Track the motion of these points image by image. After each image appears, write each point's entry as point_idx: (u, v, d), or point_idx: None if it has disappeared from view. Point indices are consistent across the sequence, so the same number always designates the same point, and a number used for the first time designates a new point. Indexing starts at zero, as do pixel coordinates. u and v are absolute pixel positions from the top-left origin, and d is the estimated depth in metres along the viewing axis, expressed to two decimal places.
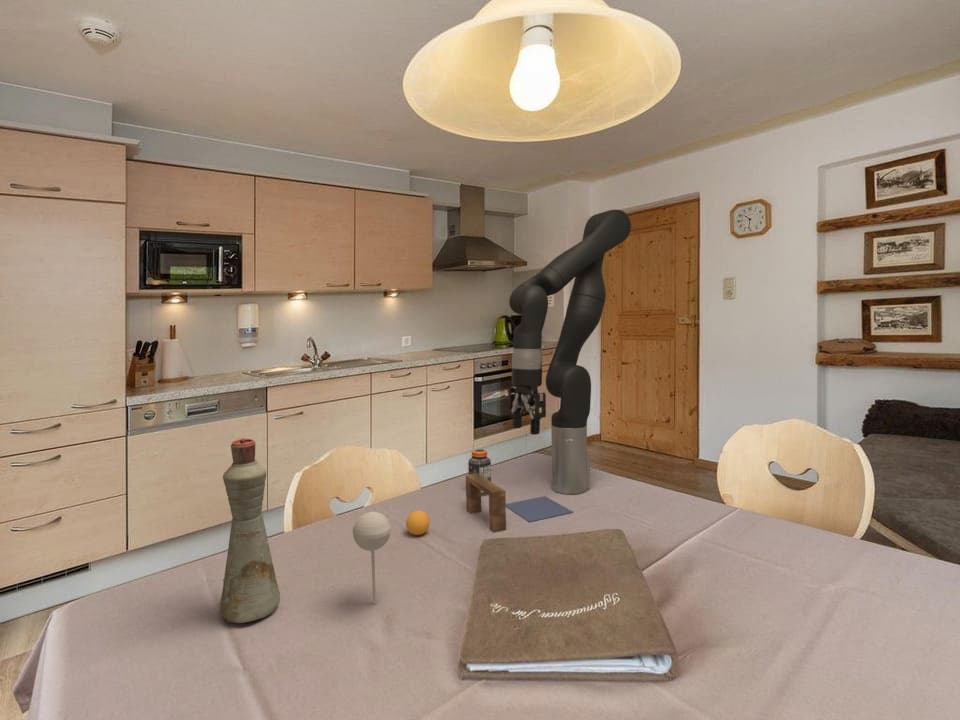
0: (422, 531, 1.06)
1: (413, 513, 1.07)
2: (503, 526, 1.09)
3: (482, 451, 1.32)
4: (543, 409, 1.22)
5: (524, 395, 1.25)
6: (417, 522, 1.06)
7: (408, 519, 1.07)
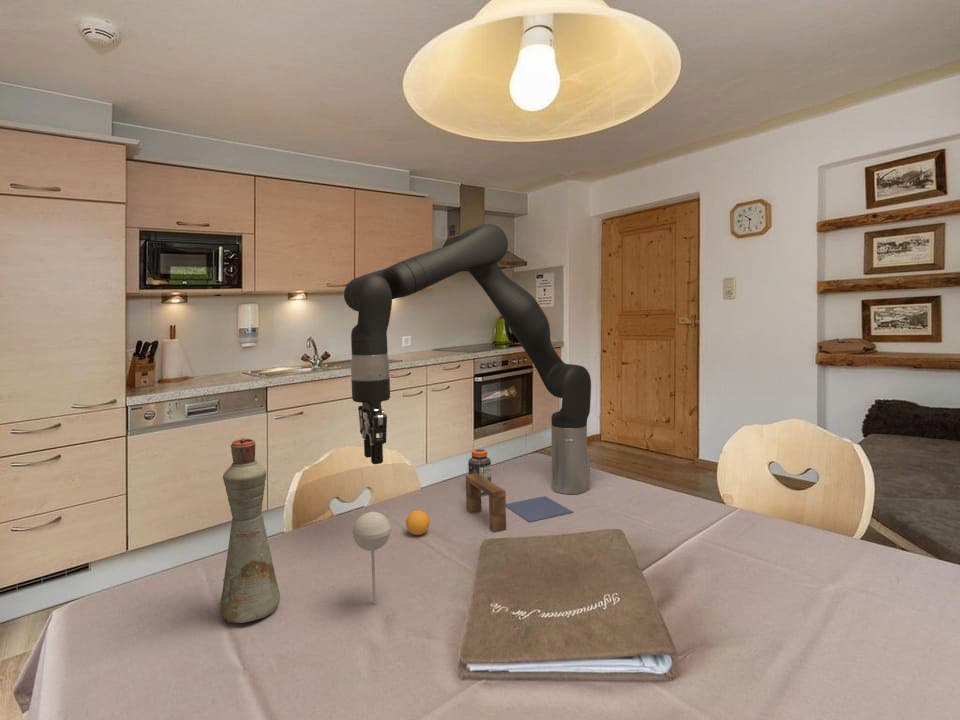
0: (422, 531, 1.06)
1: (413, 513, 1.07)
2: (503, 526, 1.09)
3: (482, 451, 1.32)
4: (383, 434, 0.98)
5: (365, 414, 1.00)
6: (417, 522, 1.06)
7: (408, 519, 1.07)
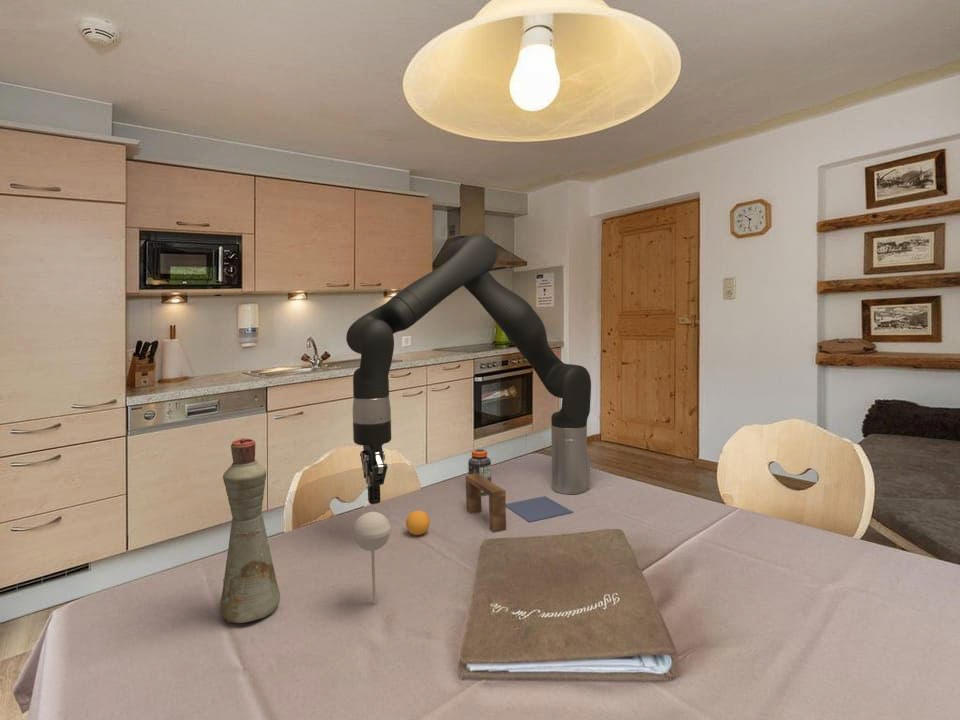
0: (422, 531, 1.06)
1: (413, 513, 1.07)
2: (503, 526, 1.09)
3: (482, 451, 1.32)
4: (381, 478, 1.00)
5: (367, 457, 1.00)
6: (417, 522, 1.06)
7: (408, 519, 1.07)
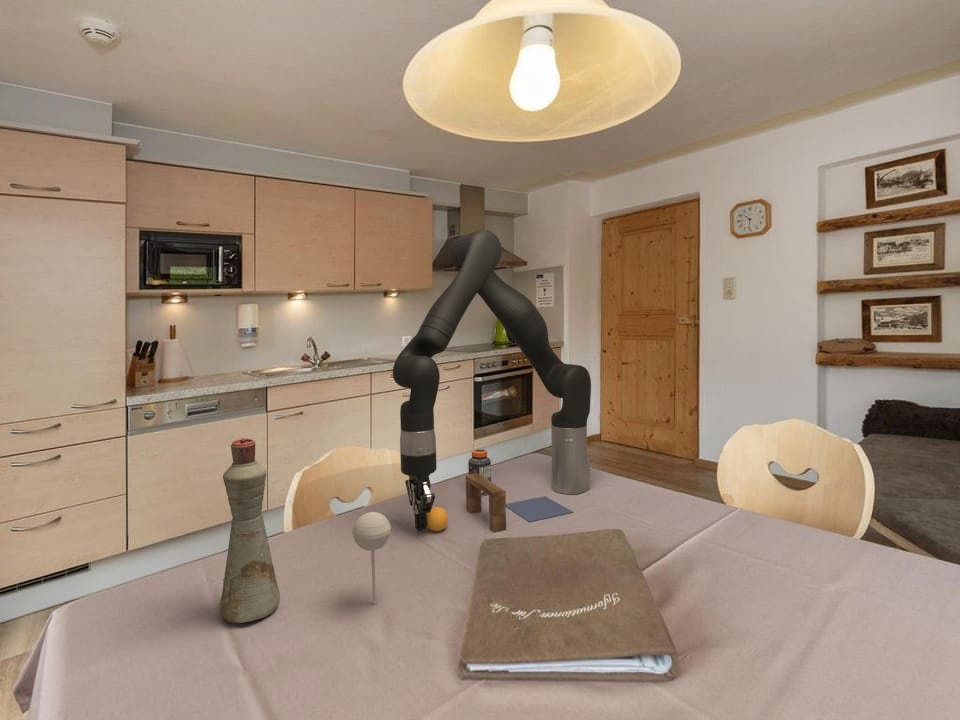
0: (435, 525, 1.07)
1: (445, 511, 1.10)
2: (503, 526, 1.09)
3: (482, 451, 1.32)
4: (429, 507, 1.05)
5: (414, 487, 1.05)
6: (443, 517, 1.08)
7: (440, 508, 1.10)
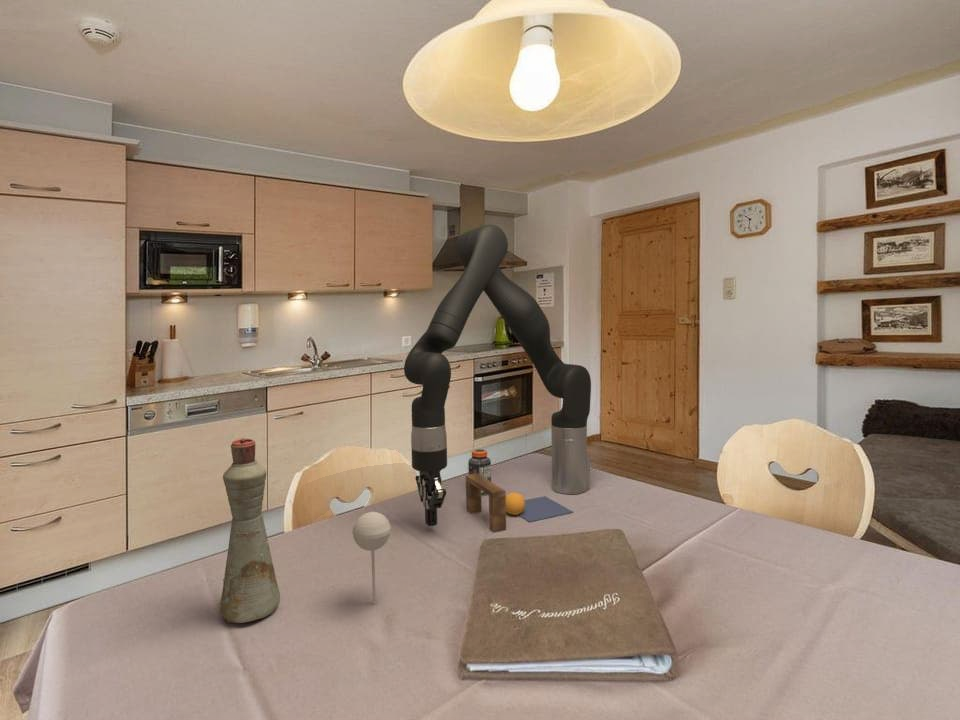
0: (516, 502, 1.16)
1: None
2: (503, 526, 1.09)
3: (482, 451, 1.32)
4: (440, 502, 1.06)
5: (425, 482, 1.06)
6: (523, 508, 1.17)
7: None
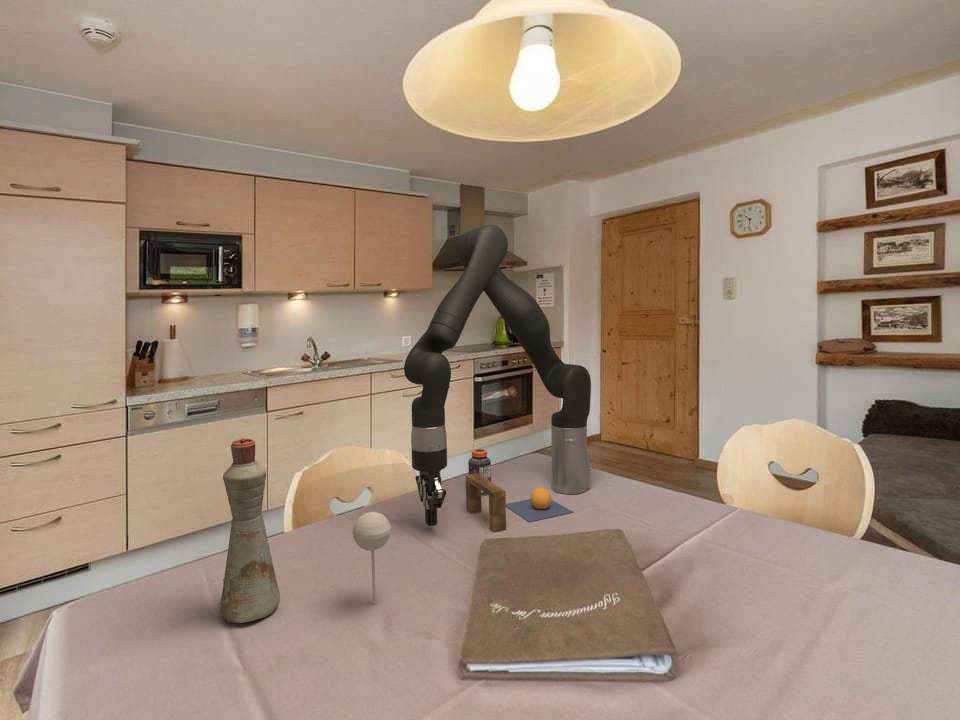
0: (548, 504, 1.20)
1: (533, 494, 1.20)
2: (503, 526, 1.09)
3: (482, 451, 1.32)
4: (440, 502, 1.06)
5: (425, 482, 1.06)
6: (541, 501, 1.19)
7: (532, 501, 1.20)
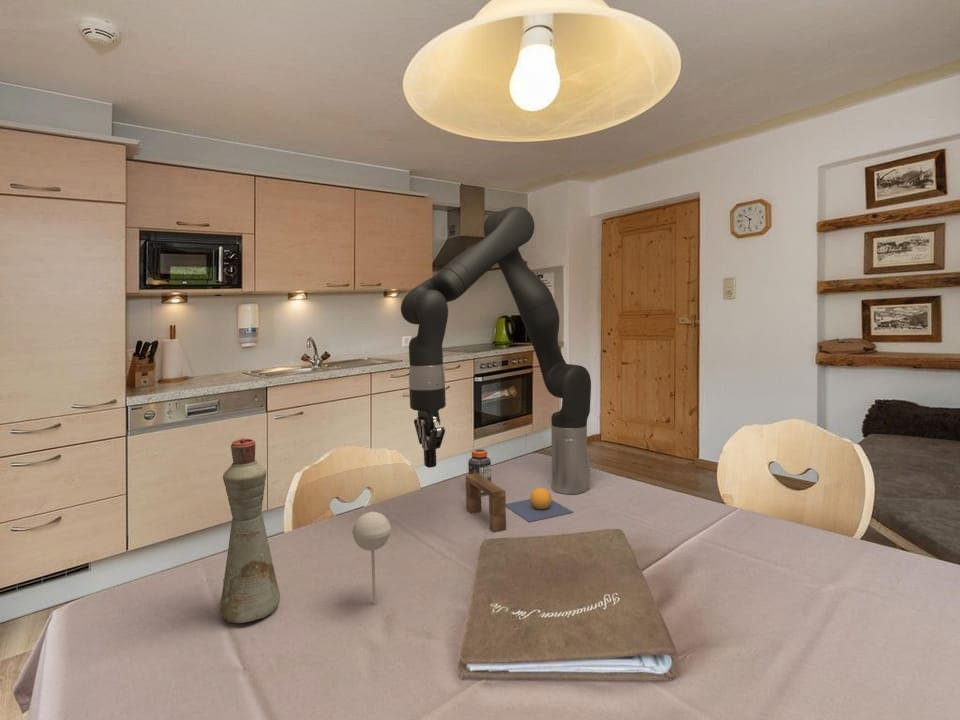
0: (548, 504, 1.20)
1: (533, 494, 1.20)
2: (503, 526, 1.09)
3: (482, 451, 1.32)
4: (438, 442, 1.05)
5: (424, 422, 1.05)
6: (541, 501, 1.19)
7: (532, 501, 1.20)
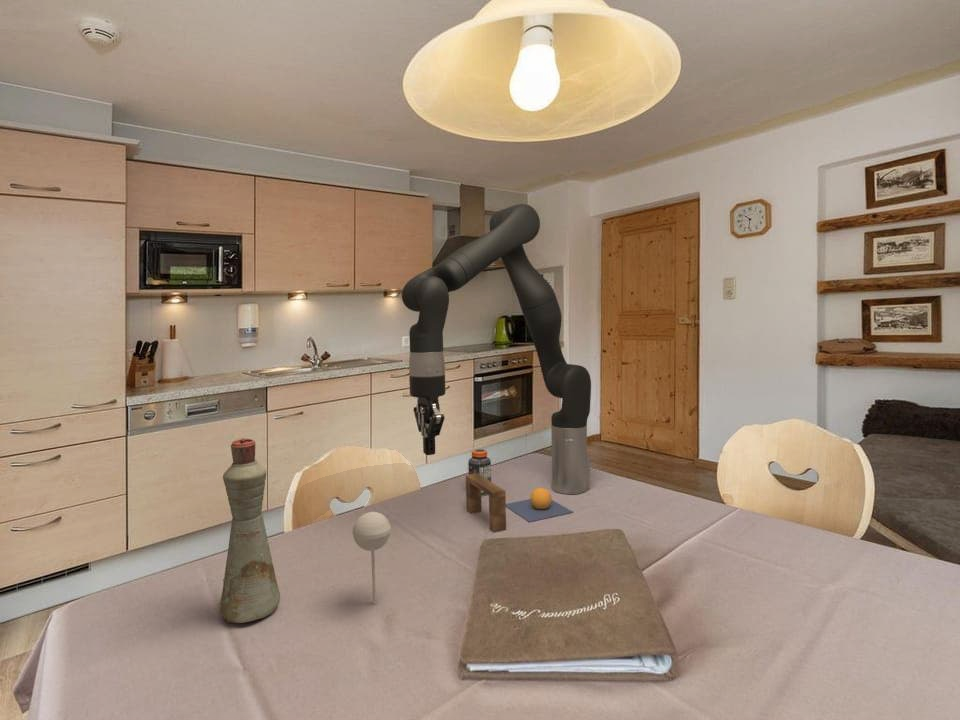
0: (548, 504, 1.20)
1: (533, 494, 1.20)
2: (503, 526, 1.09)
3: (482, 451, 1.32)
4: (438, 429, 1.05)
5: (423, 409, 1.05)
6: (541, 501, 1.19)
7: (532, 501, 1.20)
